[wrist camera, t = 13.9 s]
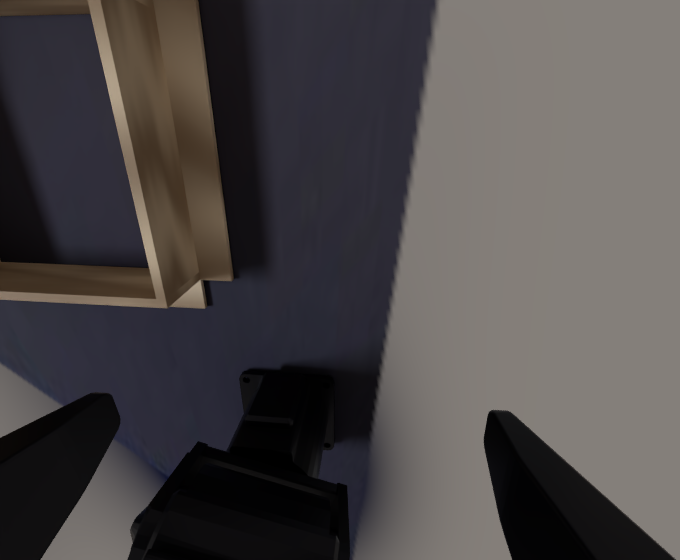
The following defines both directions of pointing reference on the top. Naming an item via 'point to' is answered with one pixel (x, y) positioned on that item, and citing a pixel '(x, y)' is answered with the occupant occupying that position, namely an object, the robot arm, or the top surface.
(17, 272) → the light brown piece
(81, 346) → the top surface
